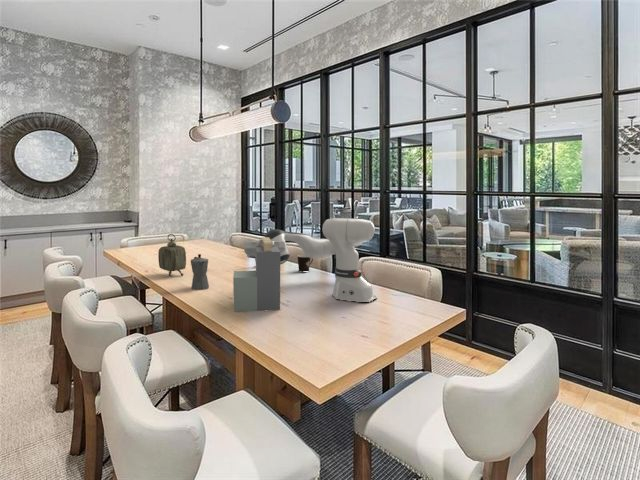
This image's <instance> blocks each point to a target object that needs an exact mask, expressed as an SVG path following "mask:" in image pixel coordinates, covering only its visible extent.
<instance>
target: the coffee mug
mask: <svg viewBox="0 0 640 480" xmlns="http://www.w3.org/2000/svg"><path fill="white" fill-rule="evenodd" d="M313 261H314V259H313V258H309V257H308V256H306V255H305V254H298V255H297V264H298V265H297V266H298V272H299V271H309V272H310V265H311V264H312V263H313Z"/></svg>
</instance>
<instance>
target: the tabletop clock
mask: <svg viewBox="0 0 640 480" xmlns="http://www.w3.org/2000/svg"><path fill="white" fill-rule="evenodd" d="M170 236H173V237H174V239H173V238H169V237H170ZM167 240H168V241H169V242H167V244H166V245H165V246H161V247H160V248H159V249H158V257H157V258H158V267H159V268H160V269H161V270H164V271H167V272H168V274H167V276H168V277H169V276H170V277H172V273H173V272H176V271H177V272H179V274H180V276H181V277H183V276H184V273H182V271H181V270H185V269H186V266H187V253H186V249H185V247H184V246H182V245H177V243H176V242H175V240H176V235H174V234H172V233H169V234H168V235H167Z"/></svg>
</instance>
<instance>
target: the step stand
mask: <svg viewBox="0 0 640 480" xmlns="http://www.w3.org/2000/svg"><path fill="white" fill-rule="evenodd" d="M232 279H233V290H232V291H233V312H234V313H241V312H242V313H243V312H244V311H245V312H262V311H263V312H264V311H265V310H268V311H280V310H281V264H280V250H279V249H278V247H273V251H264V249H263V247H256V262H255V270H233V277H232ZM265 312H266V311H265Z"/></svg>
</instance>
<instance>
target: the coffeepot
mask: <svg viewBox="0 0 640 480" xmlns="http://www.w3.org/2000/svg"><path fill="white" fill-rule="evenodd" d="M197 256H198V257H197ZM197 256H194V257H193V258H191V259H190V265H191V271H192V274H193V275H192V283H191V290H195V291H201V290H202V291H203V290H207V289H209V288H210V286H209V279H208V275H207V272H208V267H209V266H208V265H209V258H205V257H202V254H201V253H199V254H197Z"/></svg>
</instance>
